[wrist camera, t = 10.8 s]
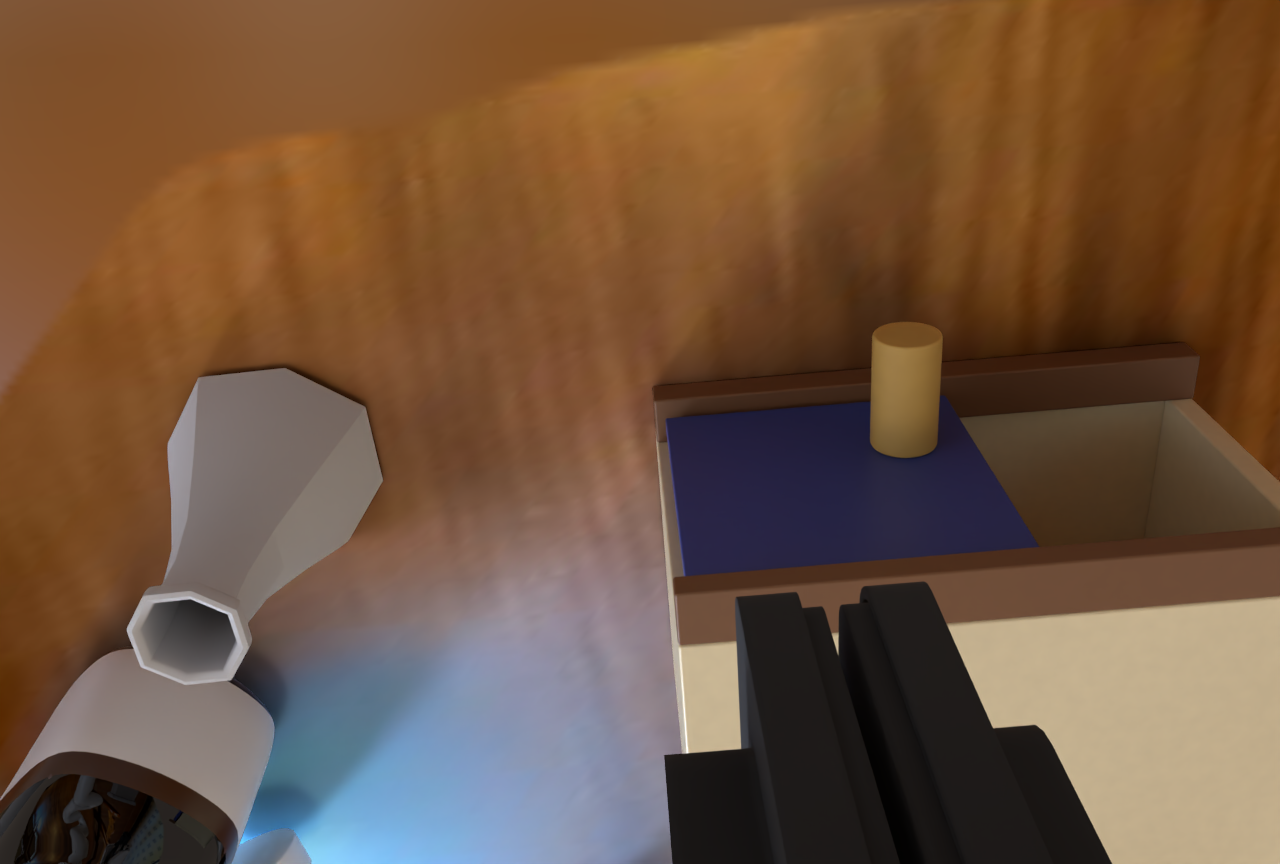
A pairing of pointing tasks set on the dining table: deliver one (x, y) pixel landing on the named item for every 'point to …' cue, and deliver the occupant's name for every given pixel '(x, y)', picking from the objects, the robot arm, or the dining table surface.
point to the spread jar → (144, 775)
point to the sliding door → (841, 475)
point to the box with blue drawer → (1065, 591)
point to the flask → (249, 512)
